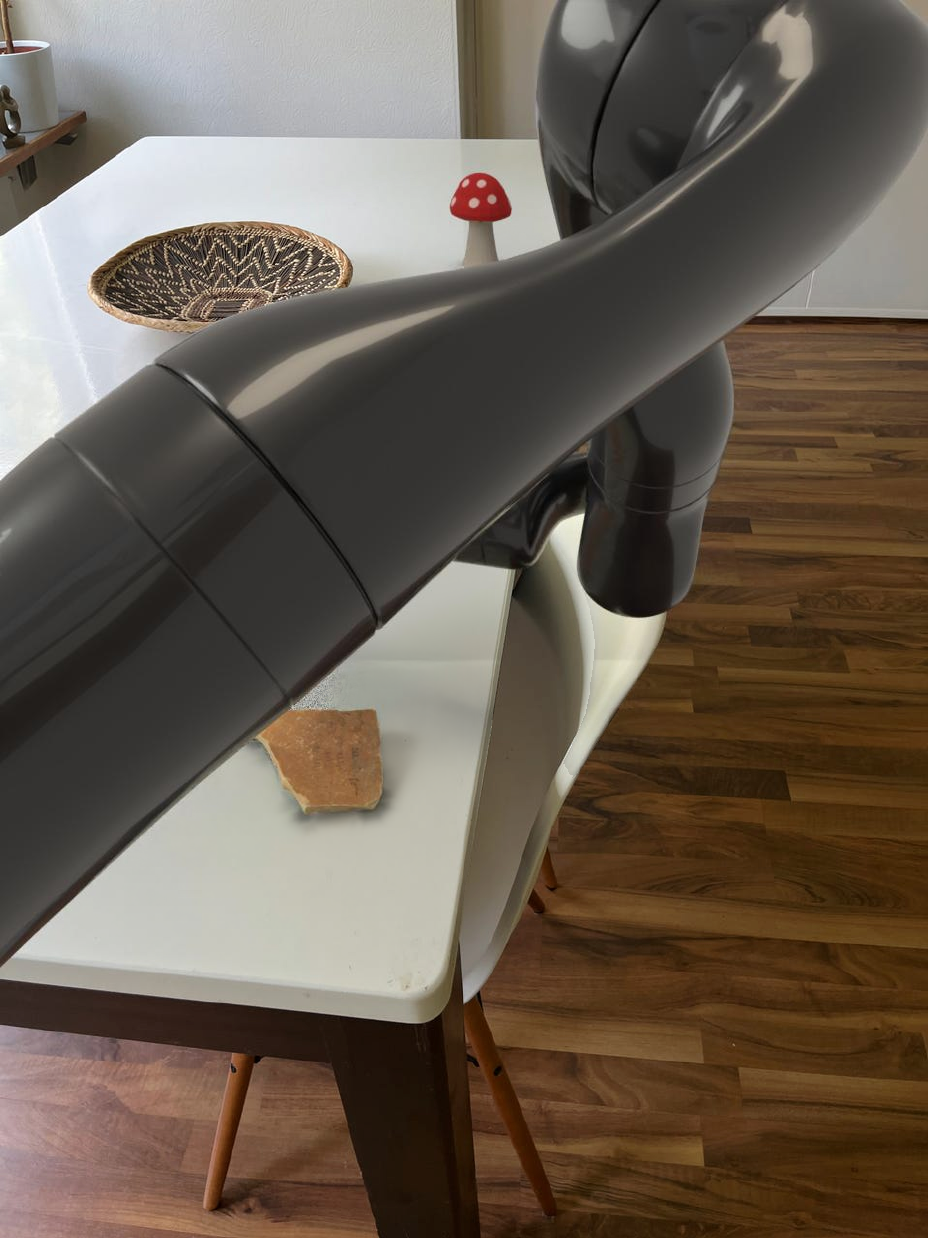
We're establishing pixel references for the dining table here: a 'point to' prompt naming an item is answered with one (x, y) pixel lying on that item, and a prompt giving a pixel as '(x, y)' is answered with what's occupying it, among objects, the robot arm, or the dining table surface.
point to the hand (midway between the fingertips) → (159, 470)
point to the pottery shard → (327, 758)
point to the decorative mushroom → (480, 215)
